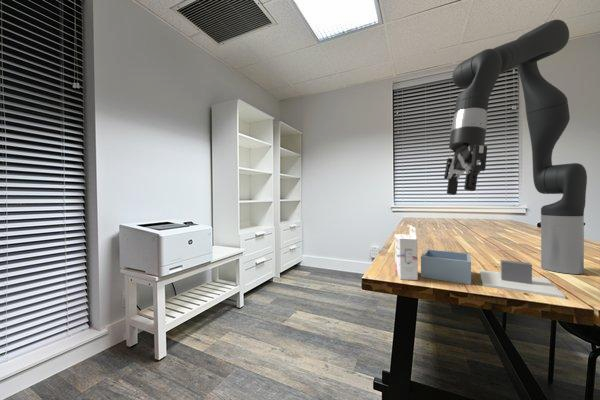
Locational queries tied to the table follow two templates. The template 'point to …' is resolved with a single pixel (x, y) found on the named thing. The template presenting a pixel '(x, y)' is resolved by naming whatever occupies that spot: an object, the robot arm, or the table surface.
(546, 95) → the robot arm
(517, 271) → the lid
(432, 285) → the table surface
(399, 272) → the ink cartridge box
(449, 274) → the gray open box
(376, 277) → the table surface
